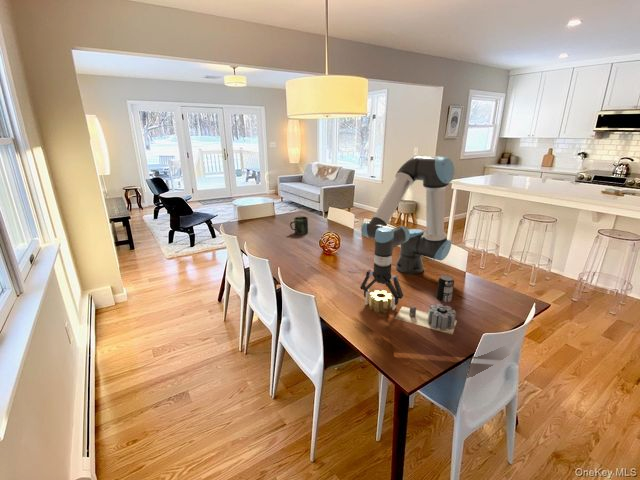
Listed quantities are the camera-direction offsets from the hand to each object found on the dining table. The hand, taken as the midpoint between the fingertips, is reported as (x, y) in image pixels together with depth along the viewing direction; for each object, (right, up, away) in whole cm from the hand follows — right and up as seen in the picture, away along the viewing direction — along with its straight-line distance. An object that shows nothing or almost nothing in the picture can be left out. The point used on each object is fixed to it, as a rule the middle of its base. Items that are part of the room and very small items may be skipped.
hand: (380, 306), depth 144 cm
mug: (-44, +36, +106) cm, 120 cm away
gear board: (+17, -4, -11) cm, 21 cm away
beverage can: (+31, +2, +5) cm, 31 cm away
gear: (+22, -4, -15) cm, 27 cm away
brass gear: (0, 0, 0) cm, 0 cm away
